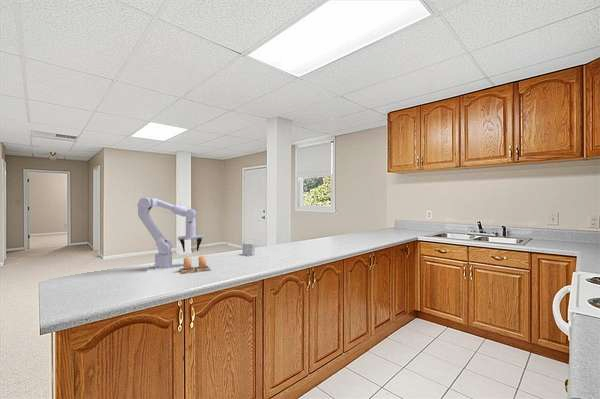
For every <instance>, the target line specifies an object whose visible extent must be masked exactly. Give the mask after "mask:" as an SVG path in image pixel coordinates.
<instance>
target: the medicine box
mask: <svg viewBox="0 0 600 399" xmlns="http://www.w3.org/2000/svg"><path fill="white" fill-rule="evenodd" d="M255 244H256V243H255V242H243V243H242V245H241V246H242V256H250V257H252V256H255V255H256V251H255V250H256V248H255V247H256V246H255Z"/></svg>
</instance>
